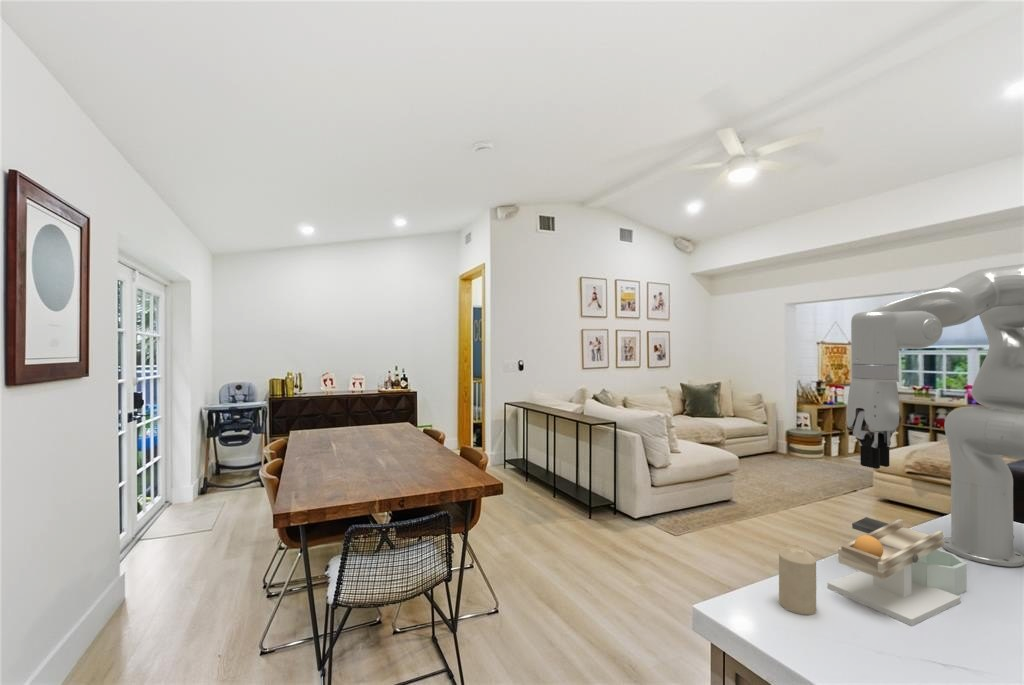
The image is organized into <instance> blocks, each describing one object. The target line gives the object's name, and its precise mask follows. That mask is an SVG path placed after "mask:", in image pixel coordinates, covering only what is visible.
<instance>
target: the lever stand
mask: <svg viewBox="0 0 1024 685" xmlns="http://www.w3.org/2000/svg"><path fill="white" fill-rule="evenodd" d="M826 584H827V585H826V587H827V589H829V590H831V591H833V592H836V593H838V594H840V595H842V596H845V597H847V598H849V599H851V600H853V601H855V602H858V603H860V604H862V605H864V606H867V607H869V608H871V609H873V610H876V611H878V612H880V613H882V614H884V615H886V616H888V617H890V618H893V619H895V620H898V621H900V622H902V623H905V624H907V625H909V626H915V625H916V624H918V623H920V622H921V623H922V622H923V621H925V620H927V619H929V618H931V617H934V616H935V615H937V614H939V613H942V612H943V611H945V610H948V609H950V608H953V607H954V606H957V605H958V604H960V603H961V596H959V595H954V594H951V593H949V592H946V591H943V590H941V589H938V588H933V587H927V586H923V585H921V584H918V583H915V582H913V581H911V564H910V565H908V566H906V567H905V568H903V569H901V570H899V571H897V572H896V573H894V574H892V575H890V576H889V577H887V578H885V579H883V580H882V579H879V578H877V577H874V576H872V575H869V574H866V573H864V572H861V571H859V570H858V571H857V572H854V573H850V574H848V575H845V576H842V577H839V578H836V579H833V580H831V581H828V582H827V583H826Z"/></svg>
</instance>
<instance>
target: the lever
mask: <svg viewBox="0 0 1024 685" xmlns="http://www.w3.org/2000/svg"><path fill="white" fill-rule="evenodd" d="M851 528H852V529H853V530H856V531H859V532H862V533H865V534H866V535H869V536H872V537H874V538H876V539H877V540H878V541H879V542H880V543H881V544H882V546H883V555H882V556H881V558H880V557H878V556H875V555H872V554H869V553H866V552H864V551H861V550H858V549H855V541H856V539H854V540H852V541H850V542H848V543H846V544H843V545H841V546H840V547H838V548H837V554H838V563H839V564H841V565H845V566H847V567H849V568H851V569H854V570H857V571H858V572H859V571H861V572H864V573H866V574H869V575H872V576H874V577H877V578H879V579H882V580H883V579H885V578H887V577H889V576H890V575H892V574H894V573H896V572H897V571H899V570H901V569H903V568H905V567H906V566H908V565H910V564H912V563H913V562H914V563H917V561H918V560H919V559H920V558H922V557H924V556H926V555H927V554H929V553H931V552H933V551H935V550H936V549H940V548H941V547H942V548H943V545H944V542H943V539H944V531H942V530H939V529H938V530H937V531H935V532H933V533H931V534H927V533H925V532H921V531H918V530H915V529H911V528H908V527H904V520H903V519H900V518H897V520H894V521H892V522H890V523H887V522H885V521H880V520H877V519H874V518H870V517H868V516H865V517H864V518H862V519H860V520H857V521H854V522H852V524H851Z"/></svg>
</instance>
